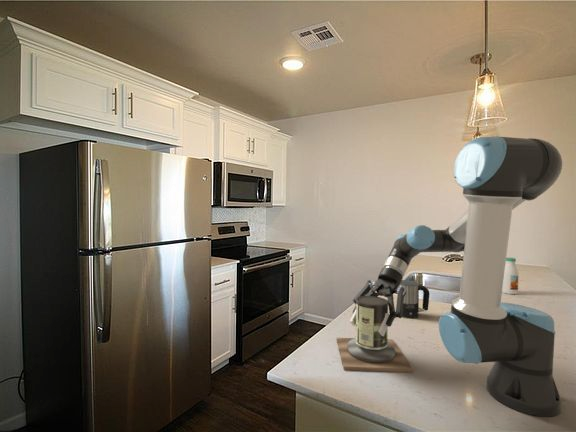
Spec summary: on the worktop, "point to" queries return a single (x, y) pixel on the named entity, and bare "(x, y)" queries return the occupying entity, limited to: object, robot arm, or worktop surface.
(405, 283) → the milk frother
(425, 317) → the worktop surface
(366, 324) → the coffee can
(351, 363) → the mount board
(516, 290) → the milk bottle
